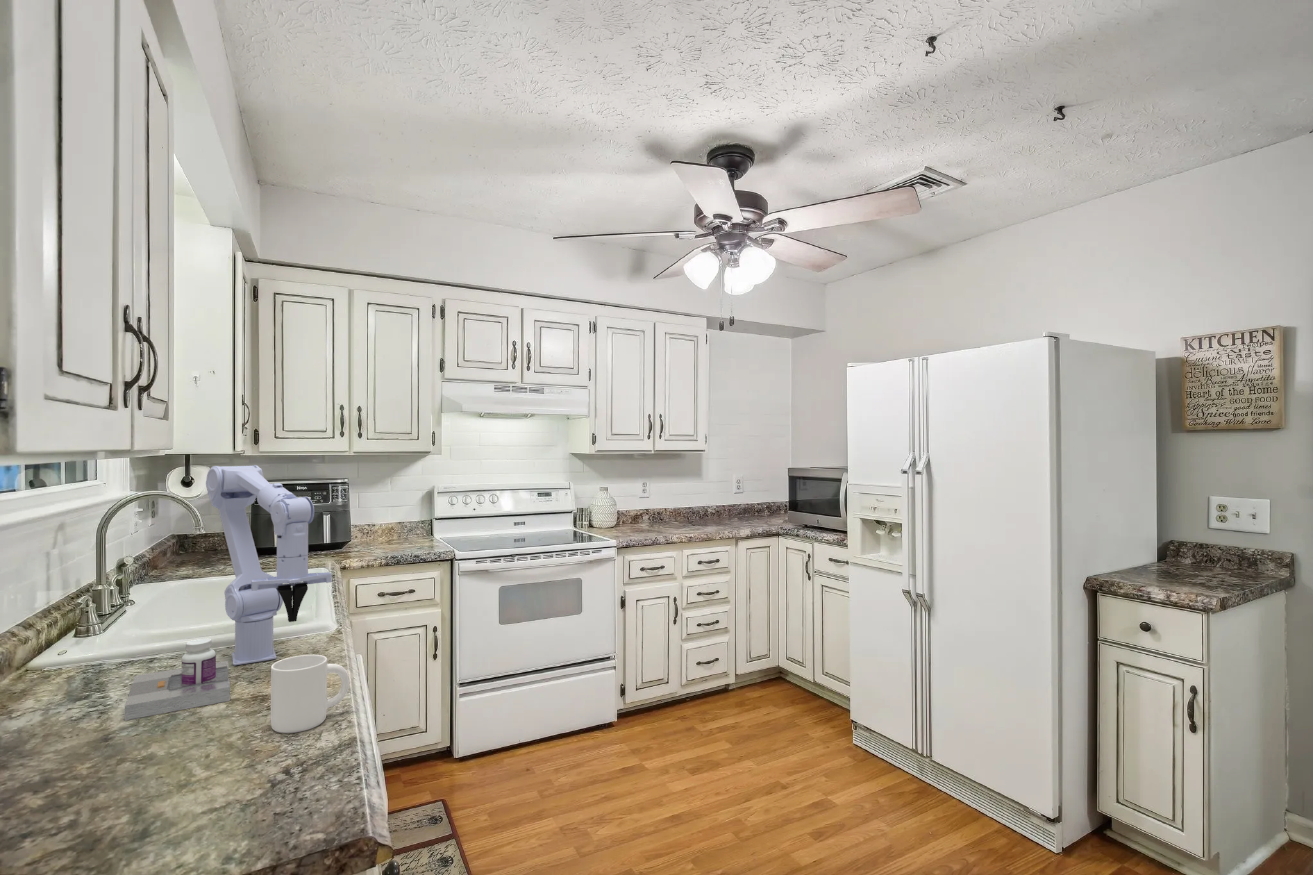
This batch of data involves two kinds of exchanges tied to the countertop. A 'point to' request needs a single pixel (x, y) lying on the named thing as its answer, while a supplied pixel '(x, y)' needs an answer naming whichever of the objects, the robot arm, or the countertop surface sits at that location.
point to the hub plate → (174, 692)
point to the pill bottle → (198, 662)
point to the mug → (303, 692)
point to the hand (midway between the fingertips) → (292, 620)
